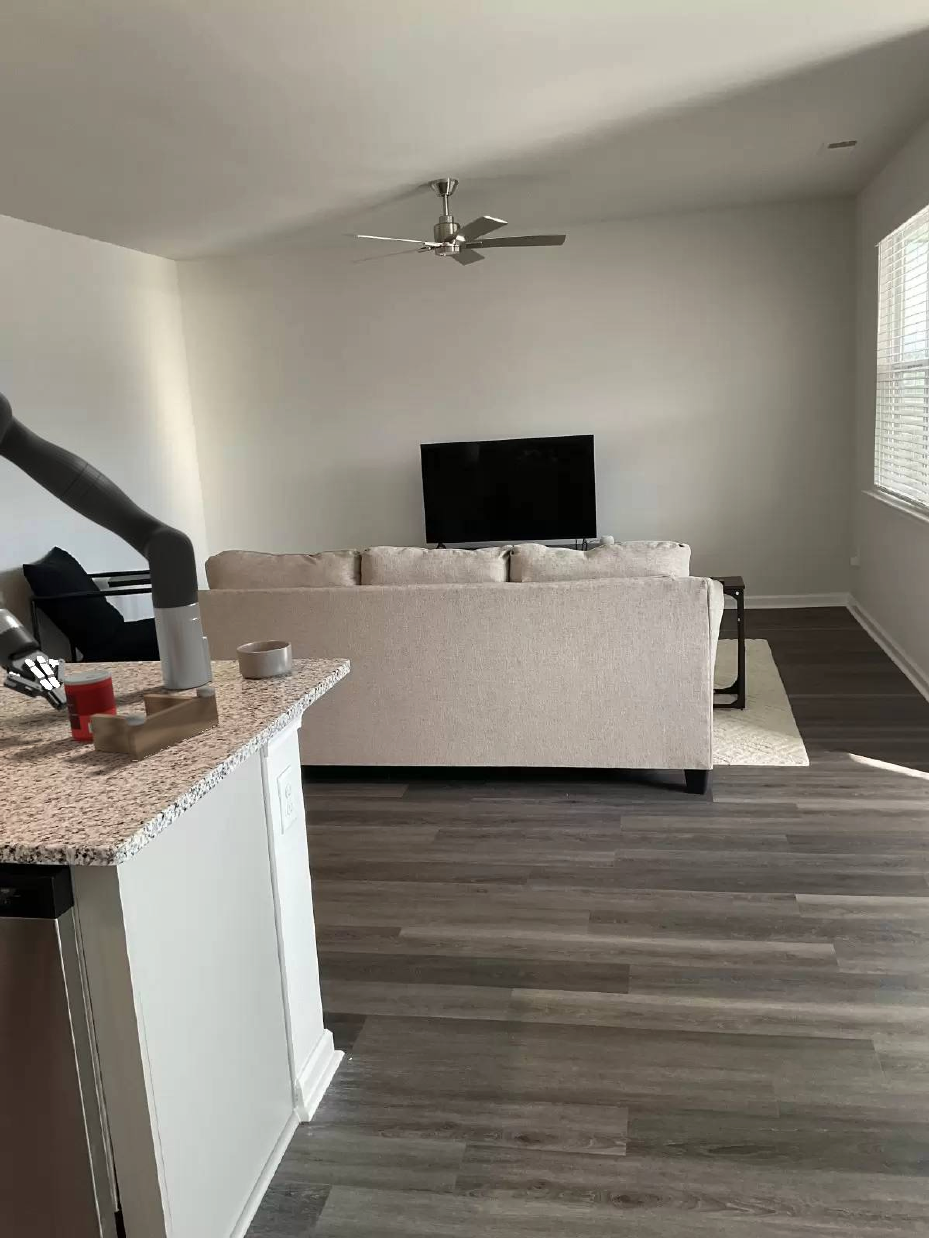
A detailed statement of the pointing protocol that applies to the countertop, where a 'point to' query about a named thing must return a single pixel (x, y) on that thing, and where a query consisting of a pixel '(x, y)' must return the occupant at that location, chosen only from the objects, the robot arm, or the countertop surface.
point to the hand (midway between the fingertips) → (64, 707)
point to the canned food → (88, 701)
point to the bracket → (156, 723)
